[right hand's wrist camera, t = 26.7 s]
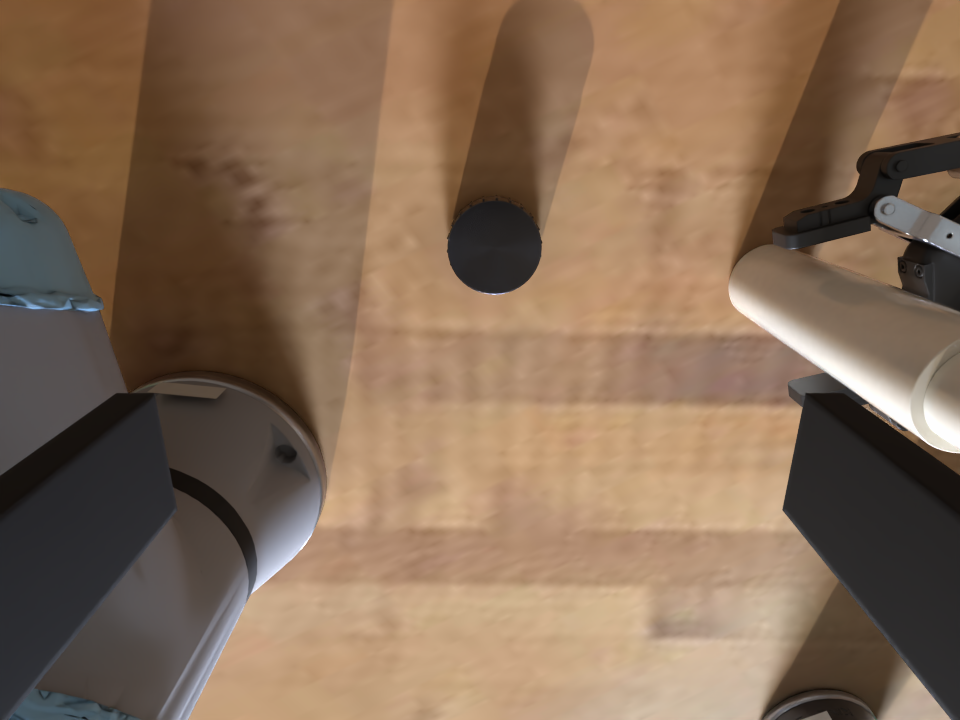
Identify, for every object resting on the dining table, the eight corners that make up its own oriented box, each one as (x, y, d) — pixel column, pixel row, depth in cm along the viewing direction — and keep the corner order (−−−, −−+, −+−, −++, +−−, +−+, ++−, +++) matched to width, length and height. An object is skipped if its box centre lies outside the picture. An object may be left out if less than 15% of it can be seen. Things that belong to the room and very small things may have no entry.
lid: (473, 178, 35) (473, 181, 33) (556, 222, 36) (560, 227, 34) (433, 261, 37) (430, 269, 35) (512, 301, 38) (514, 311, 36)
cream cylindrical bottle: (808, 309, 38) (1101, 468, 20) (732, 326, 38) (951, 498, 20) (803, 235, 36) (1116, 334, 18) (724, 254, 37) (953, 370, 19)
